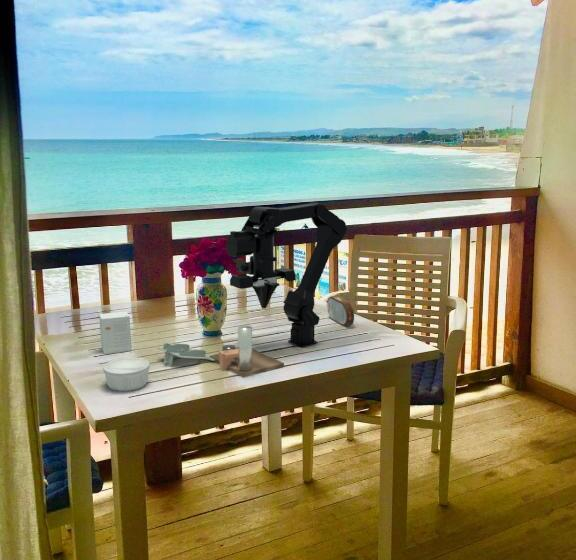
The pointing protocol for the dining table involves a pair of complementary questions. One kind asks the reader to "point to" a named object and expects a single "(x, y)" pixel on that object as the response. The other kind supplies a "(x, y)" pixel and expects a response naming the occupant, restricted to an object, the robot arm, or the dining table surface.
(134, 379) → the ramekin
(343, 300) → the tin
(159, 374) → the dining table surface
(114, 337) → the small box
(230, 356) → the block
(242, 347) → the grey cylinder with bar
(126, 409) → the dining table surface
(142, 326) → the dining table surface
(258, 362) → the board
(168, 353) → the metal bracket
